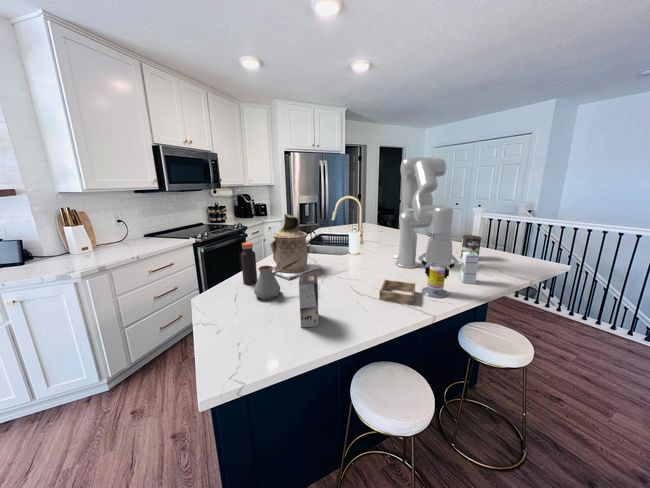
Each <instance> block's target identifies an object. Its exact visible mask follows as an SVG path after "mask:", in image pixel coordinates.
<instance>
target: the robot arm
mask: <svg viewBox="0 0 650 488" xmlns="http://www.w3.org/2000/svg"><path fill="white" fill-rule="evenodd" d="M399 169H400V176H401V177H400V178H401V179H402V206H403V208H405V209H412V210H404V211H403V212H401V213H400V214H399V218H398V221H399V244H398V246H399V247H398V255H397V254H394V255H393V260H396V261H395V266H398V267H400V268H403V269H414V268H417V267H418V266H419V263H418V262H417V261H416V257H417V243H418V234H417V233H416V231H415V230H414V229H423V228H424V229H426V228H429V227H430V226H431V230H430V232H427V237H429V238H428V241H427V245H426V249H425V250H426V251H425V252H423V254H421V255H420V256H418V261H420V262H421V264H422V265H423V266H424V267H425V269H424V270H425V271H424V274H425V275H426V277H427V278H428V275H429V266H430V265H431V264H432V263H435V264H443V265H444V266H445V268H446V271H445V279H446V280H447V278H448V277H449V276H450V270H451V269H452V268H454V267H455V266H457V265H458V264H459V263H460V261H459V259H457V258H456V257H455V256H454V255H453V241H452V240H451V235H452V227H453V226H452V225H453V217H454V216H453V215H454V209H453V208H452V207H448V206H446V205H444V204H434V199H433V194H432V193H433V192H435V191H436V190H437V189H438V186H439V183H438V179H437V177H439V178H440V177H443V176H444V175H445V174H446V171H447V164H446V161H445V160H444V159H443V158H440V157H433V156H432V157H426V156H425V157H415V156H414V157H407V158H404V159H403V160H402V161H401V164H400V168H399ZM424 258H425V260H424ZM452 261H453V262H452ZM445 279H444V280H445Z"/></svg>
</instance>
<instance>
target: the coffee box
mask: <svg viewBox="0 0 650 488" xmlns="http://www.w3.org/2000/svg"><path fill="white" fill-rule="evenodd" d="M298 286H299V287H298V288H299V291H298V292H299V294H298V295H299V313H300V316H299V317H300V328H310V327H311V328H312V327H313V328H314V327H316V328H317V327H318V326H319V283H318V276H317V274H316V273H312V274H311V273H310V274H309V273H307V274H306V273H305V274H301V275H299V278H298Z"/></svg>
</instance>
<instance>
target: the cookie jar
mask: <svg viewBox="0 0 650 488" xmlns="http://www.w3.org/2000/svg"><path fill="white" fill-rule="evenodd" d="M298 226H299V219H298V217H296V216H294V215H291V214H286V213H285V214H284V222H283V226H282V228H280V229H279V230H278V231H275V232H274V233H273V239H274V240H272V241H271V243H270V244H269V245H270V249H271V251H272V253H273V254H272V258H273V262H275V263H272V264H269V265H267V266H273V269H272V273H273V272H275V271H277V270H279V269H281V268H283V267H284V266H286V265H288V264H290V263H292V262H294V261H297V260H299V259H300V261H298V262H296V263H294V264H293V265H292V266H290V267H288V268H285V269H283V270H281V271H279V272H278V273H276V274H274V276H279V277H282V278H284V279H287V280H288V281H289V280H290V279H291V278H295V277H298V276H300V275H305V274H306V273H307V274H308V273H310V272H312V271H313V272H314V271H316V270H319V269H320V267H321V266H320V265H318V264H315V263H310V262H308V259H309V258H308V256H309V251H308V245H307V237H308V233H307V232H304V231H301V230H299V229H298ZM300 262H301V263H300Z"/></svg>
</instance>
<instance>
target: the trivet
mask: <svg viewBox="0 0 650 488" xmlns="http://www.w3.org/2000/svg"><path fill="white" fill-rule="evenodd" d="M421 293H422V294H423V295H425V296H427V297H430V298H435V299H445V298H448V296H449V294H450V293H449V292H448V291H447V290H445V289H444V288H443V289H441V290H434V289H431V288H429V287H428V286H426V287H422V289H421Z"/></svg>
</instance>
